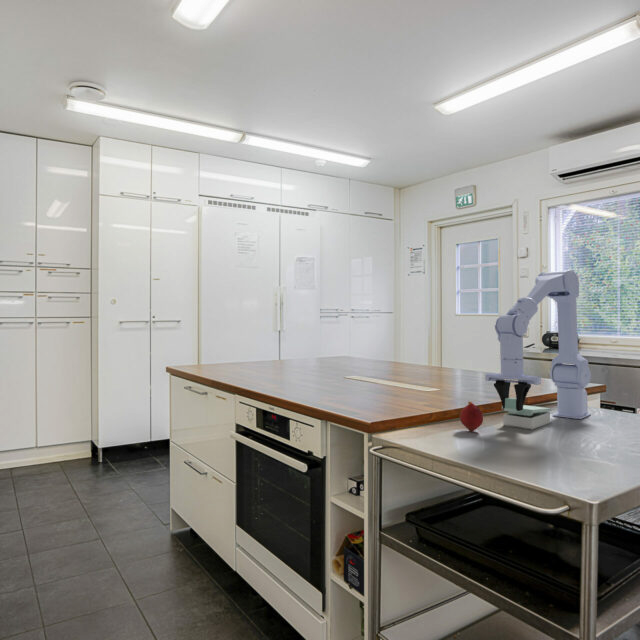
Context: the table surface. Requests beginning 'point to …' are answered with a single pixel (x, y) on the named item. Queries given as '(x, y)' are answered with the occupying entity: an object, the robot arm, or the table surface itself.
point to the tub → (526, 420)
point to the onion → (471, 416)
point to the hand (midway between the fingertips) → (512, 409)
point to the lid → (527, 410)
